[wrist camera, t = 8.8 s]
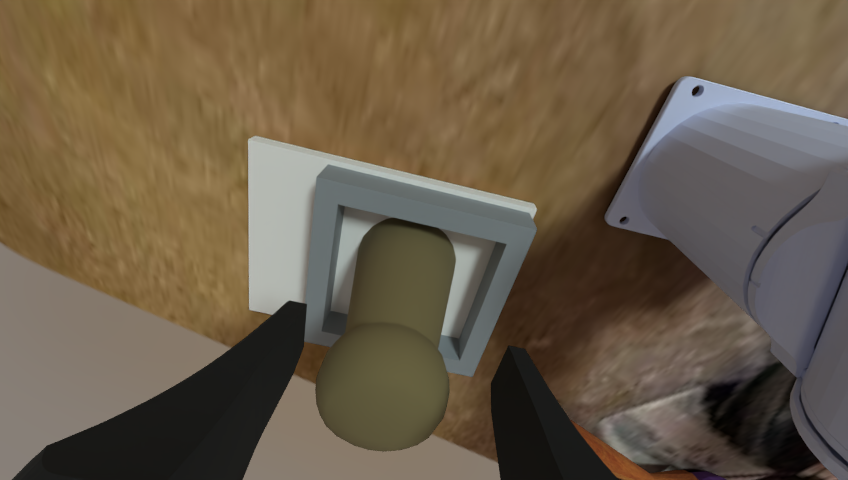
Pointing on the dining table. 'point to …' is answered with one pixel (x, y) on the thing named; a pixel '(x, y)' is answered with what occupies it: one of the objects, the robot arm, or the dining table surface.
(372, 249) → the olive knobbed tapered peg
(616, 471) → the kendama
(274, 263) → the socket board
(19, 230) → the dining table surface
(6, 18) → the dining table surface
